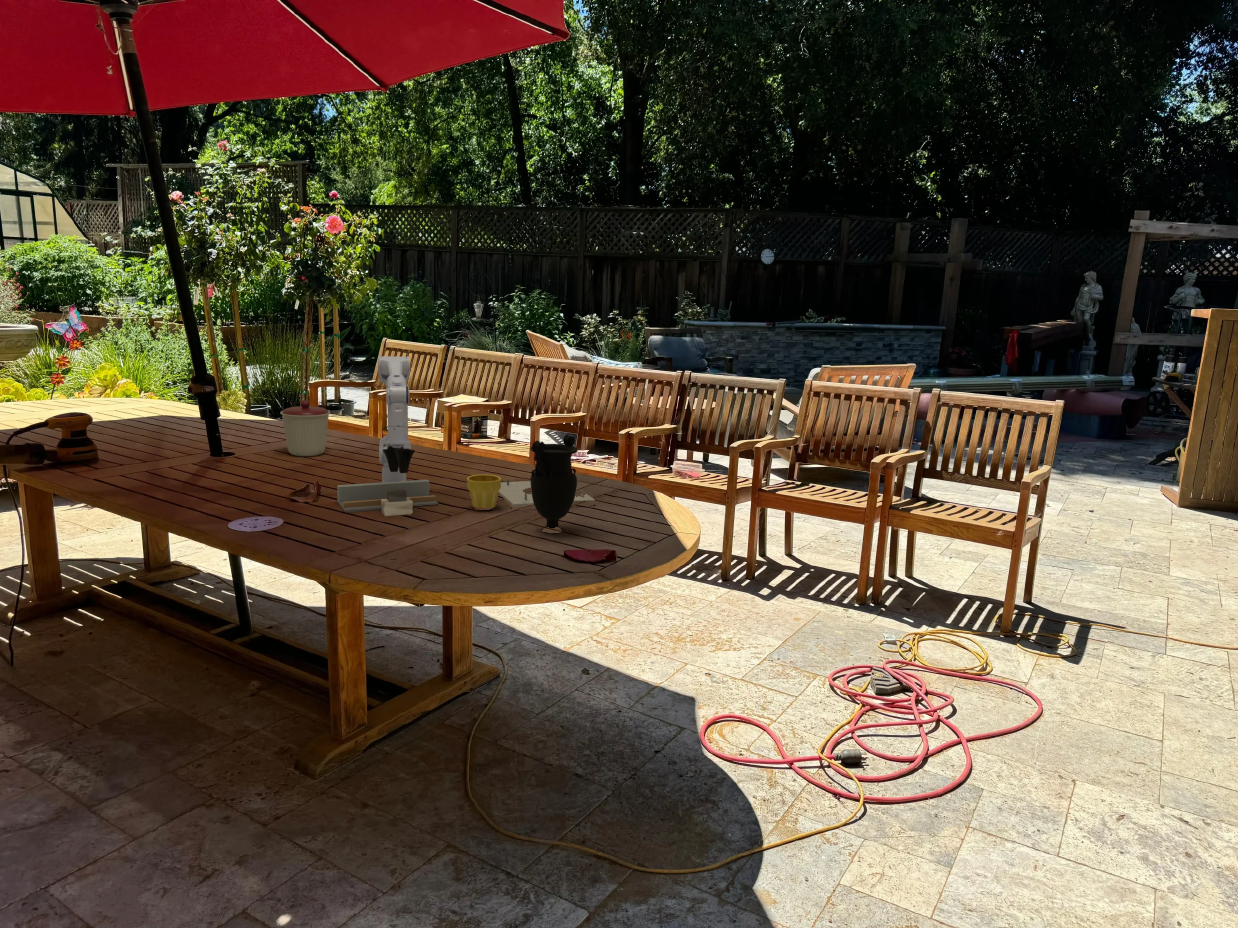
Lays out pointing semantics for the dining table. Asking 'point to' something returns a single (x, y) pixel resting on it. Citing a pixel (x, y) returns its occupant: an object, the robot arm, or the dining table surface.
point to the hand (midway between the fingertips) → (398, 472)
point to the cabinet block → (397, 503)
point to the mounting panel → (519, 498)
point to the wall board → (381, 494)
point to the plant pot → (484, 490)
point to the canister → (305, 429)
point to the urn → (553, 479)
